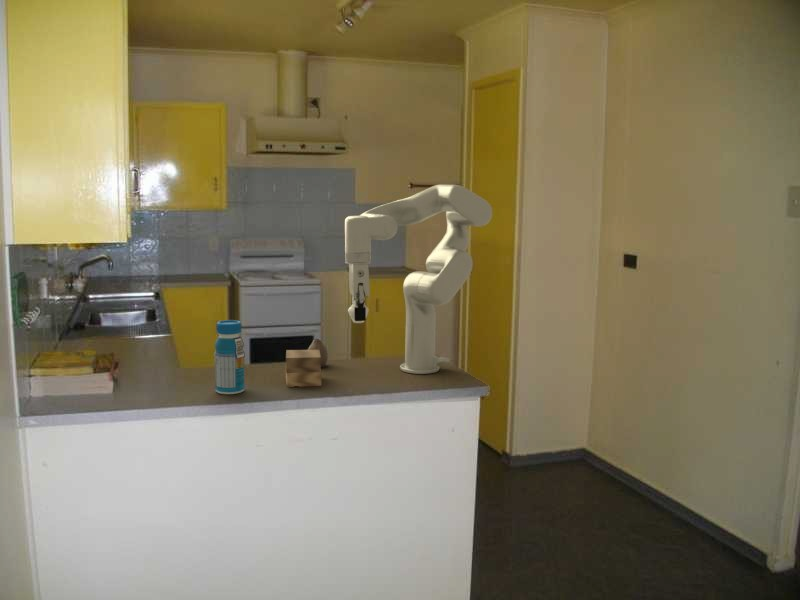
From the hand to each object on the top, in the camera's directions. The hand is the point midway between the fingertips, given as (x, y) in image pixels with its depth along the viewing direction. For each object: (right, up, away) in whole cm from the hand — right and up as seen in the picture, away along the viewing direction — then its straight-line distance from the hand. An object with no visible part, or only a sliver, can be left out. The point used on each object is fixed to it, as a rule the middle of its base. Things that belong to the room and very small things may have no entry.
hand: (358, 317), depth 225 cm
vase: (-14, -16, +21) cm, 30 cm away
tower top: (-17, -15, +1) cm, 22 cm away
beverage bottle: (-36, -21, -9) cm, 43 cm away
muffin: (0, -1, 0) cm, 1 cm away
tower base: (-17, -20, +2) cm, 26 cm away
